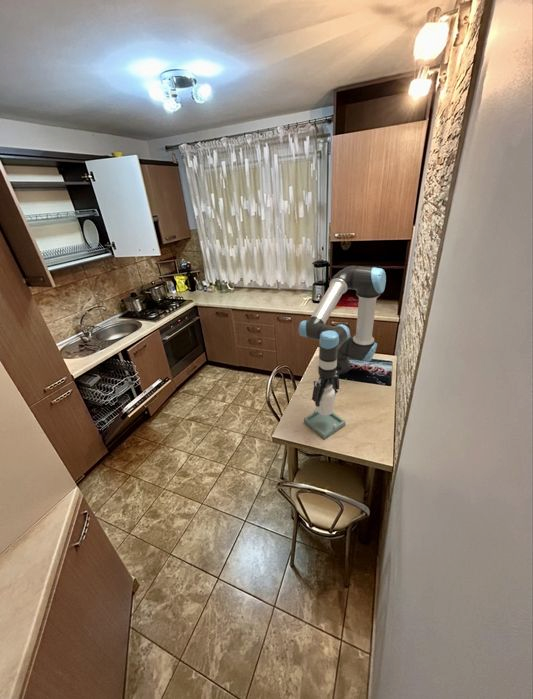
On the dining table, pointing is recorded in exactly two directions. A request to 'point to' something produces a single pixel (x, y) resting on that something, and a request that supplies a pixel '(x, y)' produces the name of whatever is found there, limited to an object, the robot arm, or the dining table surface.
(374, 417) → the dining table surface
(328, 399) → the pill bottle
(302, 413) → the dining table surface
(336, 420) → the tray
